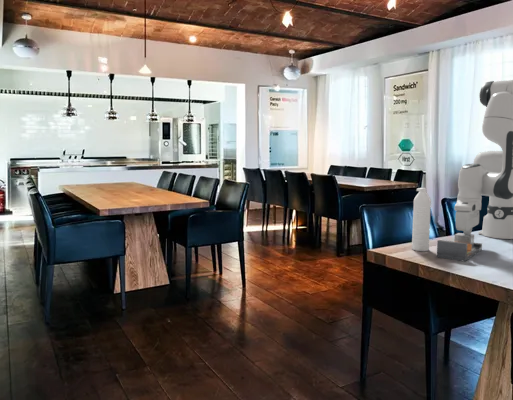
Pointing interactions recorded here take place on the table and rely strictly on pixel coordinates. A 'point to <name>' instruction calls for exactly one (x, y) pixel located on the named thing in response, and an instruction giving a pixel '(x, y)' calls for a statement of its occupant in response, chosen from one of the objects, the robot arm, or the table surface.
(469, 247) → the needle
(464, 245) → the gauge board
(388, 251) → the table surface
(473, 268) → the table surface
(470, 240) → the tan block
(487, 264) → the table surface
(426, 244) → the water bottle
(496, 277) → the table surface
